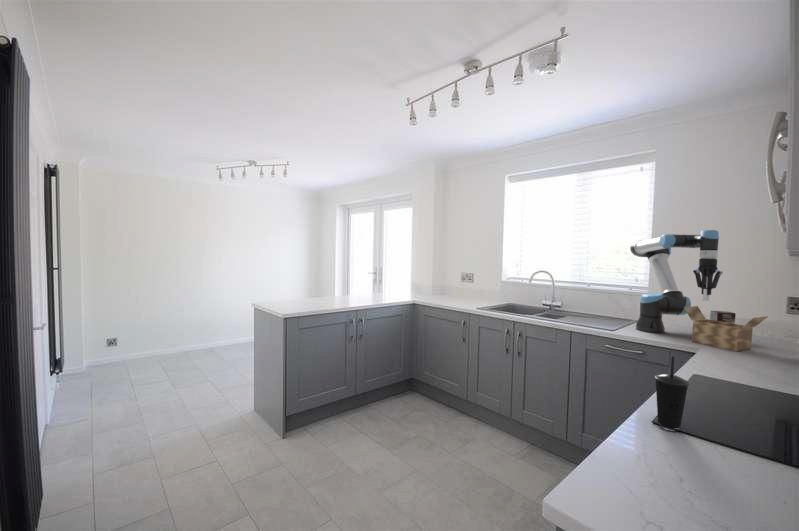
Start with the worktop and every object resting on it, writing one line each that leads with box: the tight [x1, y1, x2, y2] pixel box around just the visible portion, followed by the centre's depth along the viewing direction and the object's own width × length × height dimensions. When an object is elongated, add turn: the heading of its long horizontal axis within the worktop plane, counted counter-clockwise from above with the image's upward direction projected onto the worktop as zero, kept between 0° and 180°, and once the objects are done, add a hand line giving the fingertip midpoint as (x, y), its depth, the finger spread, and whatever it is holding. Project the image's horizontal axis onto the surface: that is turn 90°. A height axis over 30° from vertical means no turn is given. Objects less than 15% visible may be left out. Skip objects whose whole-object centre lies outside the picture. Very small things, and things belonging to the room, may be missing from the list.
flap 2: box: [740, 315, 769, 329], centre depth 178 cm, size 8×13×1 cm
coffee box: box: [709, 310, 736, 324], centre depth 205 cm, size 9×6×16 cm
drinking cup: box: [654, 356, 690, 428], centre depth 98 cm, size 8×8×20 cm
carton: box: [691, 318, 754, 353], centre depth 190 cm, size 20×13×12 cm, turn 23°
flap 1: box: [684, 305, 707, 321], centre depth 201 cm, size 8×13×1 cm
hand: (705, 300), depth 196 cm, fingers closed
